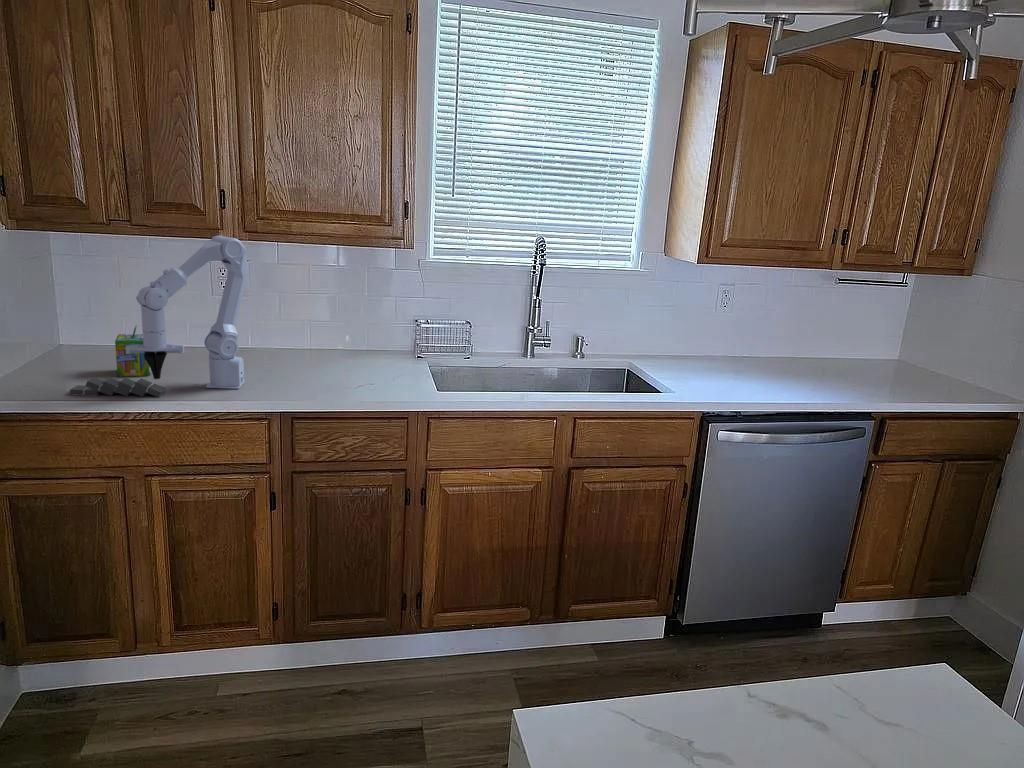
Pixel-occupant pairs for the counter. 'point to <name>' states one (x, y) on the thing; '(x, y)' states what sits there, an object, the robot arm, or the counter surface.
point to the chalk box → (130, 356)
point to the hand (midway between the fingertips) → (157, 378)
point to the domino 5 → (149, 387)
